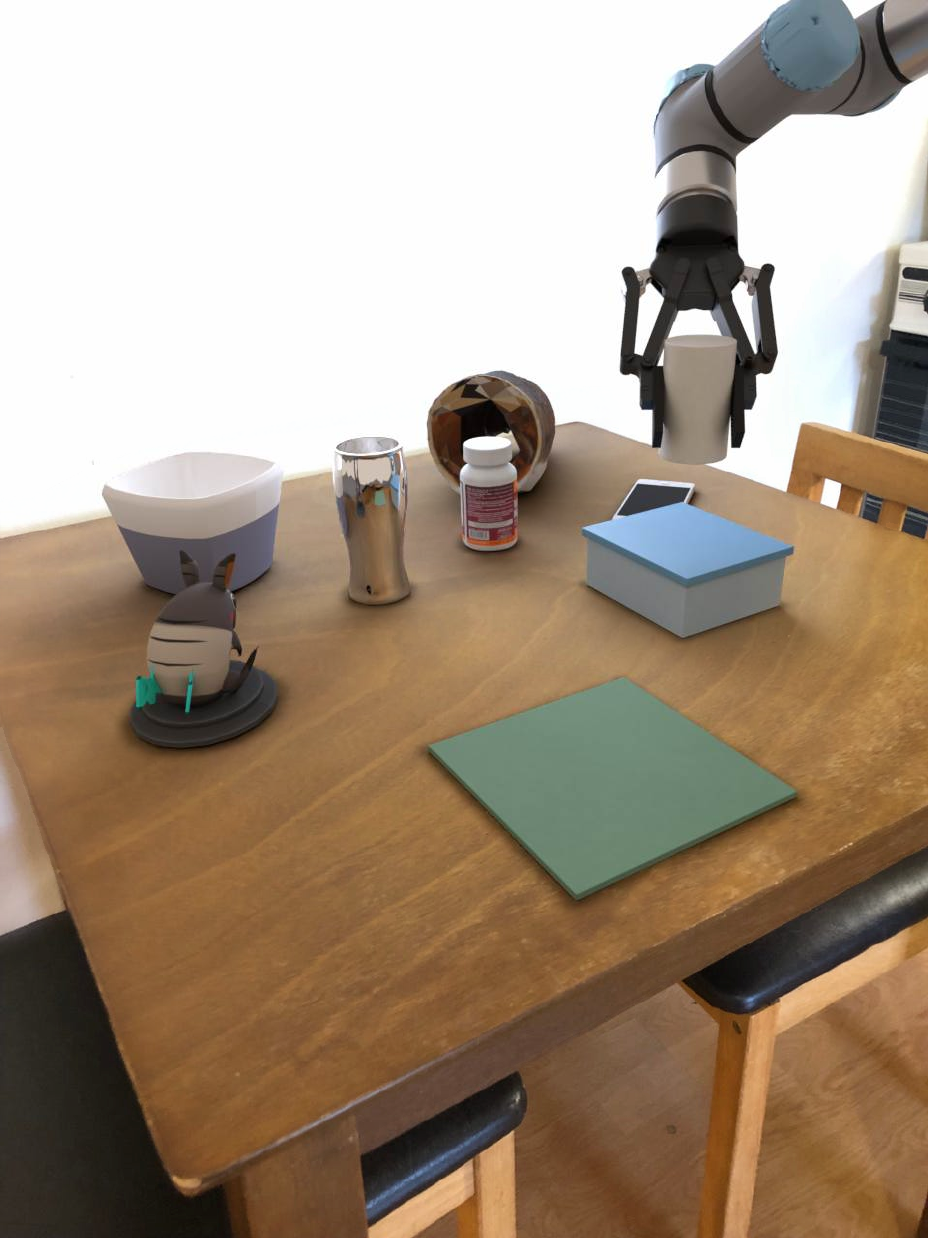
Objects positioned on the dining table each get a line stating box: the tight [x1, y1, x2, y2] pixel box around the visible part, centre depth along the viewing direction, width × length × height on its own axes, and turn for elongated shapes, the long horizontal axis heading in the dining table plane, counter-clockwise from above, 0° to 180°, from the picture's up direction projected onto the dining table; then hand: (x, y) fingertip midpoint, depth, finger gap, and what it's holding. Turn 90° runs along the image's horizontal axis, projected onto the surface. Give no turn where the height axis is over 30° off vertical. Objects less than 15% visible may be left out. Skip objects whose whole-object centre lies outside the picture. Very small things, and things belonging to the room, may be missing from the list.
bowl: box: [101, 450, 284, 595], centre depth 96 cm, size 15×15×11 cm
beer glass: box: [331, 434, 411, 606], centre depth 89 cm, size 7×7×15 cm
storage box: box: [581, 502, 795, 639], centre depth 89 cm, size 15×13×6 cm
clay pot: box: [426, 370, 556, 495], centre depth 124 cm, size 15×15×25 cm
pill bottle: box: [460, 436, 519, 552], centre depth 101 cm, size 6×6×11 cm
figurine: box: [129, 550, 279, 749], centre depth 72 cm, size 11×12×12 cm
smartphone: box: [611, 478, 696, 520], centre depth 112 cm, size 7×16×1 cm, turn 159°
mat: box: [428, 676, 798, 902], centre depth 65 cm, size 18×18×1 cm
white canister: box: [657, 334, 737, 466], centre depth 82 cm, size 6×6×10 cm
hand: (697, 439), depth 79 cm, fingers closed on white canister, 6 cm apart
